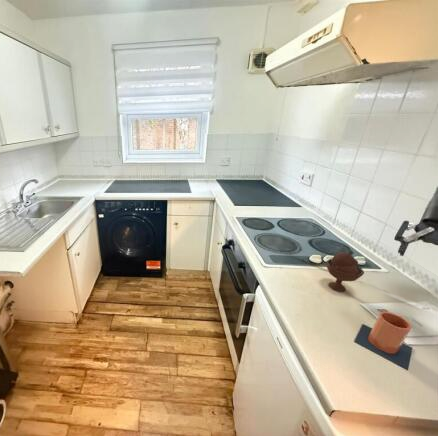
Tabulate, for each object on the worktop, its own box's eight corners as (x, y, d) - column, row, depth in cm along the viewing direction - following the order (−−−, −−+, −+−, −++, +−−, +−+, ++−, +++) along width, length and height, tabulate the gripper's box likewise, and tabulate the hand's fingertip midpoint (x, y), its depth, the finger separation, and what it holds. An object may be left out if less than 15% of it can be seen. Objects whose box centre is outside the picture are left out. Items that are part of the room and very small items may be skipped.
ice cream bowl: (354, 301, 84) (369, 265, 78) (316, 287, 91) (328, 253, 85) (356, 287, 91) (370, 253, 85) (321, 275, 98) (332, 243, 92)
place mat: (412, 348, 67) (412, 347, 67) (407, 370, 61) (408, 369, 61) (362, 324, 74) (362, 323, 74) (354, 341, 69) (354, 341, 69)
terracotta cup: (399, 345, 67) (412, 321, 64) (395, 358, 64) (409, 333, 60) (370, 331, 72) (382, 308, 68) (365, 342, 68) (377, 319, 65)
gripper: (412, 199, 69) (390, 246, 67) (493, 212, 59) (471, 268, 57) (406, 211, 75) (386, 255, 72) (480, 226, 64) (459, 277, 62)
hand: (423, 261), depth 65 cm, fingers open, 8 cm apart
